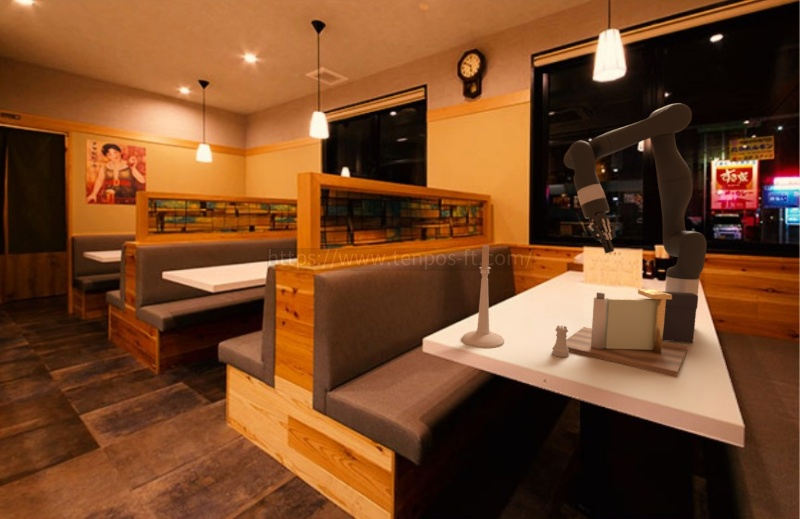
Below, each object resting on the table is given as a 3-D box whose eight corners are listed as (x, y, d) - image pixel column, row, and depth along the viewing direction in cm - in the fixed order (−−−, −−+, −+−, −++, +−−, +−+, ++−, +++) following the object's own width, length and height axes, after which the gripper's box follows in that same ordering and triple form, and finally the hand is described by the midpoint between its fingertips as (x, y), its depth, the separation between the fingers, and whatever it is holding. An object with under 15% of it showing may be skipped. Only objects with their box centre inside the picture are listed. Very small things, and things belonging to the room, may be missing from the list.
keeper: (633, 348, 110) (638, 289, 108) (651, 348, 110) (656, 289, 108) (647, 357, 103) (652, 294, 101) (666, 358, 103) (672, 294, 101)
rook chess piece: (567, 358, 102) (569, 330, 101) (550, 355, 105) (551, 327, 104) (570, 353, 106) (571, 326, 105) (553, 350, 108) (554, 323, 108)
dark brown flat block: (688, 339, 118) (692, 292, 117) (693, 344, 114) (698, 295, 112) (647, 335, 122) (651, 290, 120) (651, 340, 118) (655, 292, 116)
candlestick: (456, 343, 114) (458, 244, 111) (469, 332, 126) (471, 241, 122) (498, 350, 108) (502, 246, 105) (508, 338, 120) (512, 243, 116)
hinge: (593, 348, 106) (597, 294, 104) (589, 344, 109) (592, 291, 107) (660, 350, 104) (664, 295, 102) (653, 346, 107) (657, 293, 106)
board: (583, 330, 127) (583, 327, 127) (687, 350, 109) (687, 346, 109) (558, 349, 110) (558, 345, 110) (676, 376, 91) (677, 371, 91)
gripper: (591, 196, 116) (609, 250, 113) (615, 196, 123) (632, 247, 120) (570, 206, 122) (587, 257, 119) (593, 205, 129) (610, 254, 126)
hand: (609, 252), depth 119 cm, fingers closed
